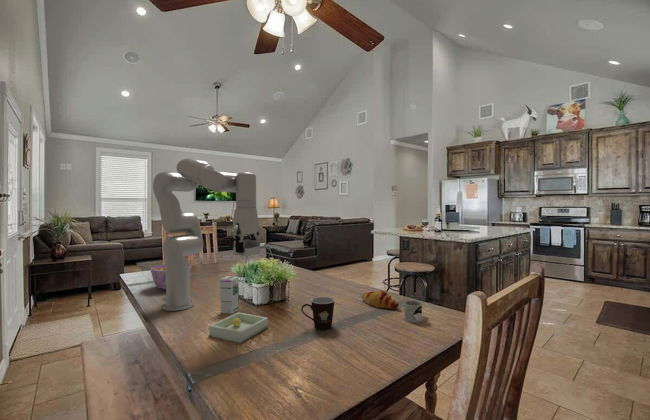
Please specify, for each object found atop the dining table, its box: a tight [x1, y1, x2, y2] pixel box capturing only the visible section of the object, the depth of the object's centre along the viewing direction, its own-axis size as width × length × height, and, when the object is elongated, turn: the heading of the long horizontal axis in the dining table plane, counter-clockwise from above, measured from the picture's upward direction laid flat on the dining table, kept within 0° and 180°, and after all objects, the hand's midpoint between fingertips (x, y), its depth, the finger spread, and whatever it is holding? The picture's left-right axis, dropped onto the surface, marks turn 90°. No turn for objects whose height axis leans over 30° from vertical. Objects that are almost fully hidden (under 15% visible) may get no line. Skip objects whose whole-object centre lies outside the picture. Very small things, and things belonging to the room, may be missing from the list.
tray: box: [208, 312, 269, 344], centre depth 114 cm, size 14×15×4 cm
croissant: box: [361, 290, 399, 310], centre depth 144 cm, size 21×10×8 cm, turn 41°
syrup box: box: [219, 275, 240, 315], centre depth 136 cm, size 6×6×14 cm
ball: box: [232, 318, 241, 327], centre depth 117 cm, size 3×3×3 cm
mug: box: [403, 300, 423, 324], centre depth 126 cm, size 10×7×7 cm, turn 137°
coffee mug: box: [301, 296, 335, 331], centre depth 119 cm, size 12×9×10 cm
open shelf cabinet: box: [232, 239, 261, 257], centre depth 122 cm, size 7×7×5 cm
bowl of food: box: [150, 264, 192, 291], centre depth 172 cm, size 20×20×12 cm
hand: (246, 250), depth 122 cm, fingers closed on open shelf cabinet, 7 cm apart
